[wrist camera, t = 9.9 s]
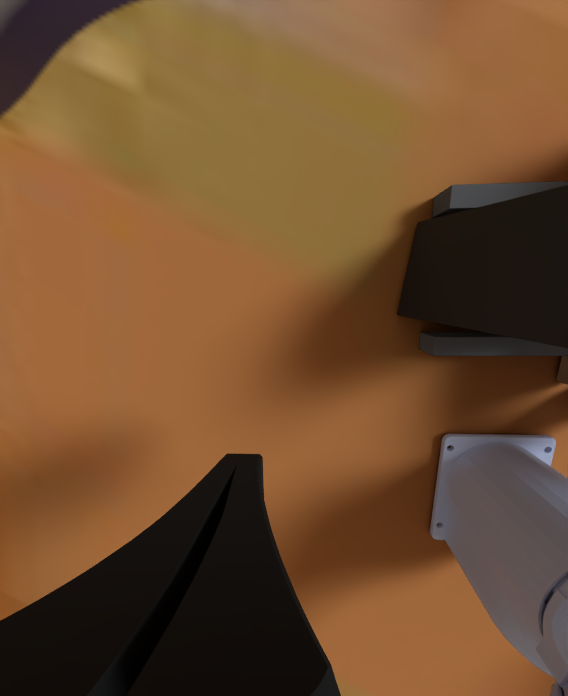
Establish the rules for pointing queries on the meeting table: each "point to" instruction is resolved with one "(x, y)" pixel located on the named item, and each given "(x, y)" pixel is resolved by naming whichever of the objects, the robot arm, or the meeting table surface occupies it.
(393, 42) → the meeting table surface
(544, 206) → the phone stand
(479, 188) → the keeper
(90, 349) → the meeting table surface
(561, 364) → the door
